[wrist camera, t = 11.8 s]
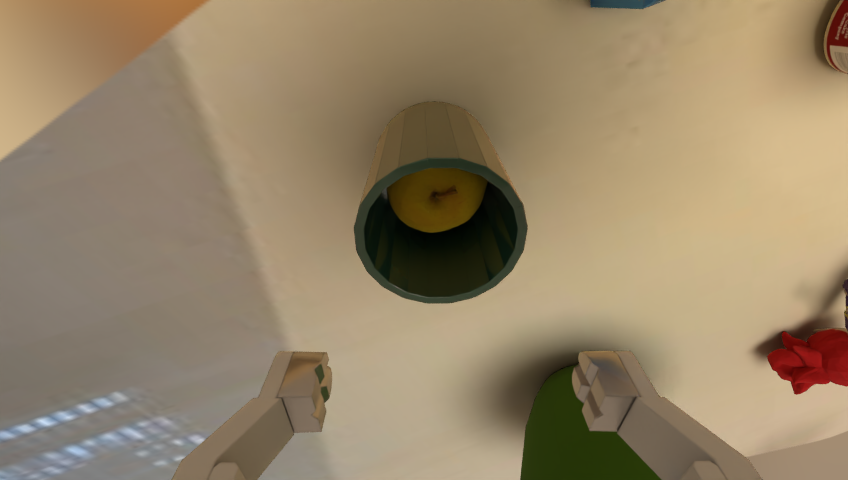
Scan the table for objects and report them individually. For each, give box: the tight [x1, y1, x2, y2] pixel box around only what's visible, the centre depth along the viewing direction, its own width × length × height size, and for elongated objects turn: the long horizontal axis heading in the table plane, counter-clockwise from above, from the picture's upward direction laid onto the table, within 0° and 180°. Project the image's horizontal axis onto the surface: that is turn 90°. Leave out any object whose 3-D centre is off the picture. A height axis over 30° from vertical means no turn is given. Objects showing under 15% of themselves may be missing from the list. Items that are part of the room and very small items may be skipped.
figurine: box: [767, 279, 848, 394], centre depth 34 cm, size 6×8×15 cm
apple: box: [387, 168, 488, 233], centre depth 24 cm, size 6×6×8 cm
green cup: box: [354, 101, 528, 303], centre depth 23 cm, size 9×9×11 cm
